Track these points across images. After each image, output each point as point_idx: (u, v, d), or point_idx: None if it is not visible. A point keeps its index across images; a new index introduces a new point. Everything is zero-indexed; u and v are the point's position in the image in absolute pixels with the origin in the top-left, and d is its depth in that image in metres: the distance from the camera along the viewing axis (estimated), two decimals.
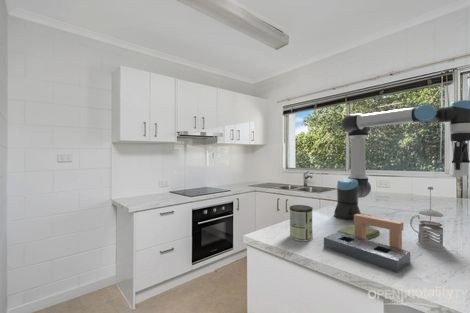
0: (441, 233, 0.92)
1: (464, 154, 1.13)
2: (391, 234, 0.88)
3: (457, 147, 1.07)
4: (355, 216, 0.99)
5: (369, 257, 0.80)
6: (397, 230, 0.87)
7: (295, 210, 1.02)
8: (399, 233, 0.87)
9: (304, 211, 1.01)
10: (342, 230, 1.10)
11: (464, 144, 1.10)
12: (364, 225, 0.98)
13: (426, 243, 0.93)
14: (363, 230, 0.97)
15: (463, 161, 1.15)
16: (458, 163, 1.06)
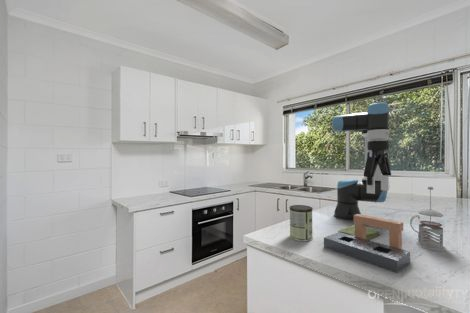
0: (441, 233, 0.92)
1: (383, 166, 0.96)
2: (391, 234, 0.88)
3: (370, 157, 0.90)
4: (355, 216, 0.99)
5: (369, 257, 0.80)
6: (397, 230, 0.87)
7: (295, 210, 1.02)
8: (399, 233, 0.87)
9: (304, 211, 1.01)
10: (342, 230, 1.10)
11: (381, 154, 0.94)
12: (364, 225, 0.98)
13: (426, 243, 0.93)
14: (363, 230, 0.97)
15: (384, 173, 0.99)
16: (370, 177, 0.89)
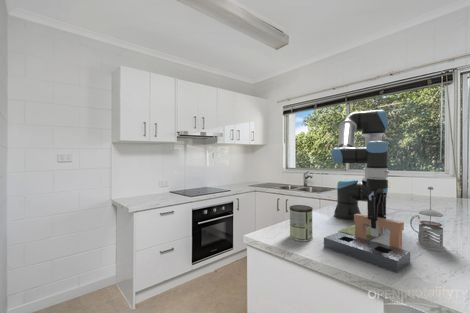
0: (441, 233, 0.92)
1: (380, 205, 0.95)
2: (391, 234, 0.88)
3: (370, 200, 0.91)
4: (355, 216, 0.99)
5: (369, 257, 0.80)
6: (397, 229, 0.87)
7: (295, 210, 1.02)
8: (399, 233, 0.87)
9: (304, 211, 1.01)
10: (343, 230, 1.10)
11: (380, 189, 0.94)
12: (364, 225, 0.98)
13: (426, 243, 0.93)
14: (363, 230, 0.97)
15: (379, 216, 0.96)
16: (373, 221, 0.91)
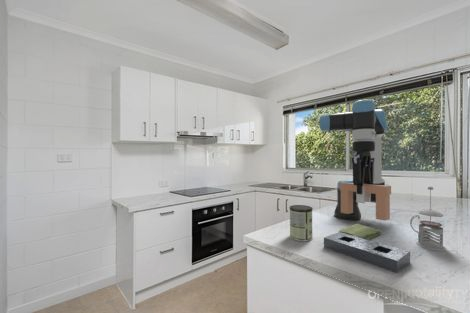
0: (441, 233, 0.92)
1: (367, 170, 0.88)
2: (377, 198, 0.81)
3: (355, 164, 0.84)
4: (341, 184, 0.92)
5: (369, 257, 0.80)
6: (383, 193, 0.80)
7: (295, 210, 1.02)
8: (386, 197, 0.80)
9: (304, 211, 1.01)
10: (343, 230, 1.10)
11: (367, 152, 0.87)
12: (351, 193, 0.91)
13: (426, 243, 0.93)
14: (349, 198, 0.90)
15: (366, 182, 0.89)
16: (359, 186, 0.84)
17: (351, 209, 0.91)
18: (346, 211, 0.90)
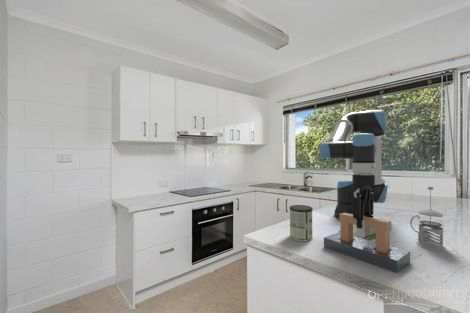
0: (441, 233, 0.92)
1: (367, 203, 0.88)
2: (377, 234, 0.81)
3: (355, 198, 0.84)
4: (341, 215, 0.92)
5: (369, 257, 0.80)
6: (383, 230, 0.80)
7: (295, 210, 1.02)
8: (386, 233, 0.80)
9: (304, 211, 1.01)
10: None
11: (367, 186, 0.87)
12: (351, 225, 0.91)
13: (426, 243, 0.93)
14: (349, 230, 0.90)
15: (366, 215, 0.89)
16: (359, 220, 0.84)
17: None
18: None
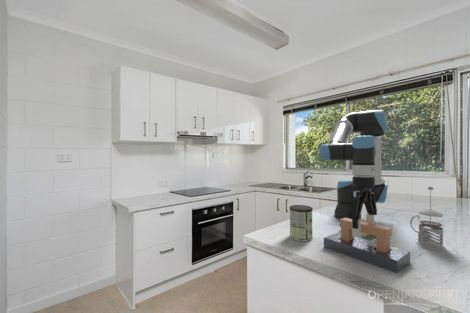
0: (441, 233, 0.92)
1: (369, 203, 0.89)
2: (378, 241, 0.81)
3: (354, 197, 0.83)
4: (341, 220, 0.92)
5: (369, 257, 0.80)
6: (384, 237, 0.80)
7: (295, 210, 1.02)
8: (386, 240, 0.80)
9: (304, 211, 1.01)
10: None
11: (367, 190, 0.87)
12: (351, 230, 0.91)
13: (426, 243, 0.93)
14: (350, 235, 0.91)
15: (369, 212, 0.91)
16: (355, 220, 0.83)
17: None
18: None
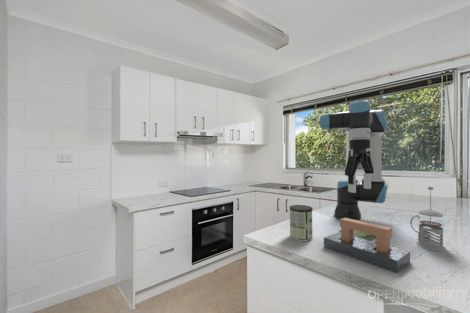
0: (441, 233, 0.92)
1: (365, 164, 0.96)
2: (378, 241, 0.81)
3: (351, 156, 0.90)
4: (341, 220, 0.92)
5: (369, 257, 0.80)
6: (384, 237, 0.80)
7: (295, 210, 1.02)
8: (386, 240, 0.80)
9: (304, 211, 1.01)
10: None
11: None
12: (351, 230, 0.91)
13: (426, 243, 0.93)
14: (350, 235, 0.91)
15: (367, 172, 0.99)
16: (350, 176, 0.89)
17: None
18: None
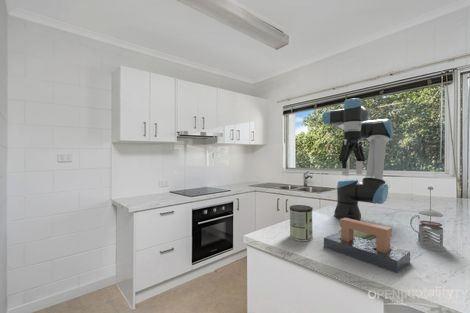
0: (441, 233, 0.92)
1: (357, 153, 1.12)
2: (378, 241, 0.81)
3: (344, 145, 1.06)
4: (341, 220, 0.92)
5: (369, 257, 0.80)
6: (384, 236, 0.80)
7: (295, 210, 1.02)
8: (386, 240, 0.80)
9: (304, 211, 1.01)
10: None
11: (355, 142, 1.10)
12: (351, 230, 0.91)
13: (426, 243, 0.93)
14: (350, 235, 0.91)
15: (359, 160, 1.15)
16: (344, 161, 1.05)
17: None
18: None
